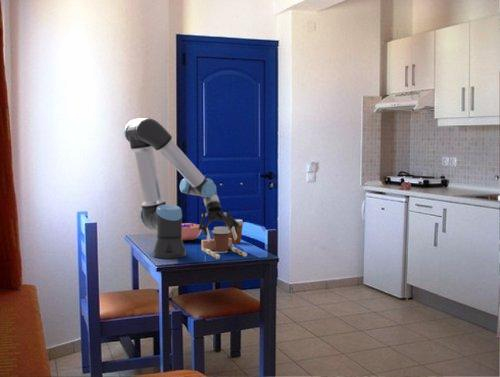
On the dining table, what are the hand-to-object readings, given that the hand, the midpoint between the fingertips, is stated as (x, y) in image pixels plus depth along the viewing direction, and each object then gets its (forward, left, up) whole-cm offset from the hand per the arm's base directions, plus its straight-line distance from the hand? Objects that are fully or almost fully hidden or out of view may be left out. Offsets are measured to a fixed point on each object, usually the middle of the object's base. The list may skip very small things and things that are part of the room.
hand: (222, 239), depth 284 cm
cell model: (+13, +38, -7) cm, 40 cm away
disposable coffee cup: (+24, +12, -7) cm, 28 cm away
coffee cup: (+1, +2, -7) cm, 7 cm away
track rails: (-1, -2, -6) cm, 7 cm away
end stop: (+4, +8, -6) cm, 11 cm away
